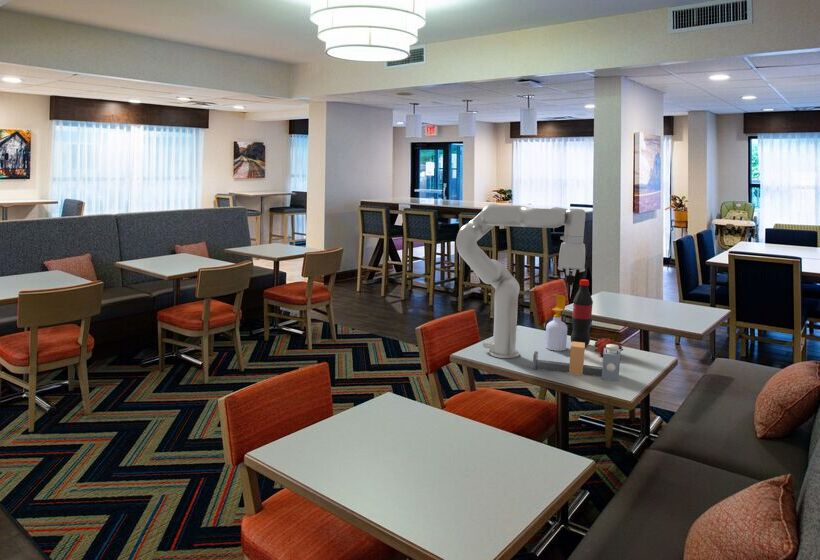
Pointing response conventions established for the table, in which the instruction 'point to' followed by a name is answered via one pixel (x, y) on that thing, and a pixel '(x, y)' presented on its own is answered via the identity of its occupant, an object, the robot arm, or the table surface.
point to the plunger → (612, 348)
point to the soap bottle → (557, 328)
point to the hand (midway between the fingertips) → (569, 284)
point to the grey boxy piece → (611, 365)
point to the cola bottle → (582, 314)
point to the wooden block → (577, 358)
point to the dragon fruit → (604, 345)
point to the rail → (563, 367)
